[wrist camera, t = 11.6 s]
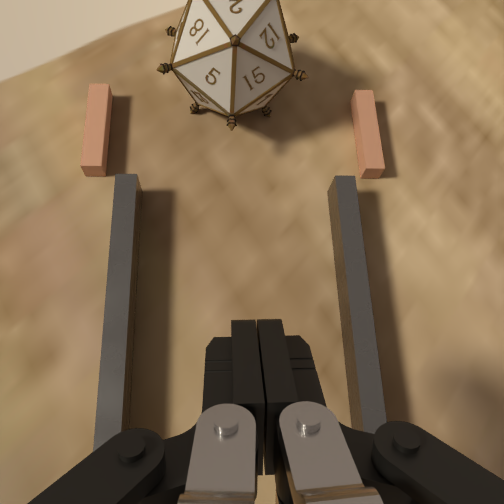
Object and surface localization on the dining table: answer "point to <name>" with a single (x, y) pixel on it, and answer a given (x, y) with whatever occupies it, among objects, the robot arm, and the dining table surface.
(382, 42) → the dining table surface
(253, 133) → the dining table surface
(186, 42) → the game die
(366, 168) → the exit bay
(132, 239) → the chute
